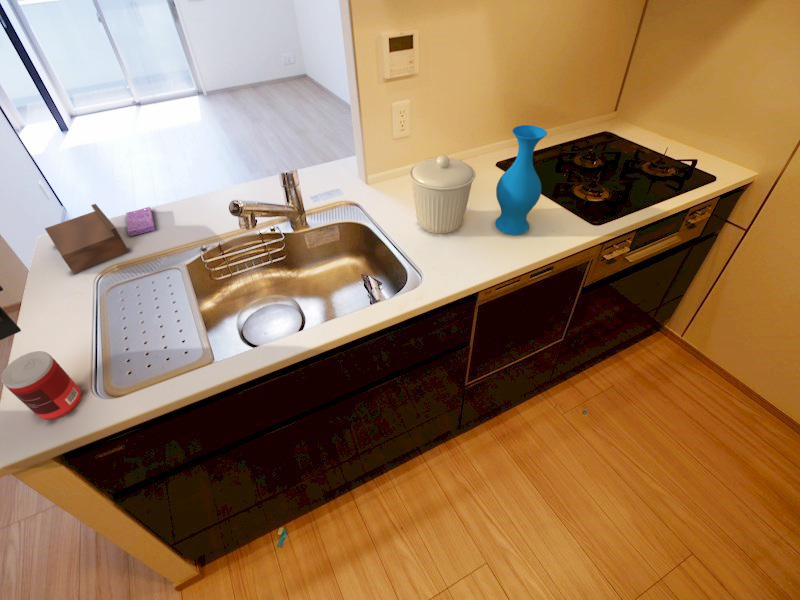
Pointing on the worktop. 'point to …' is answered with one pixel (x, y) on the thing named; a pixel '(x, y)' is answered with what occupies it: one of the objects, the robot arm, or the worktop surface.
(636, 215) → the worktop surface
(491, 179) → the worktop surface
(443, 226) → the canister
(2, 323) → the robot arm
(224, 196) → the worktop surface
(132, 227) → the sponge
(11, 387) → the canned food
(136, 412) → the worktop surface
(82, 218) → the wooden lipped board
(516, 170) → the vase
